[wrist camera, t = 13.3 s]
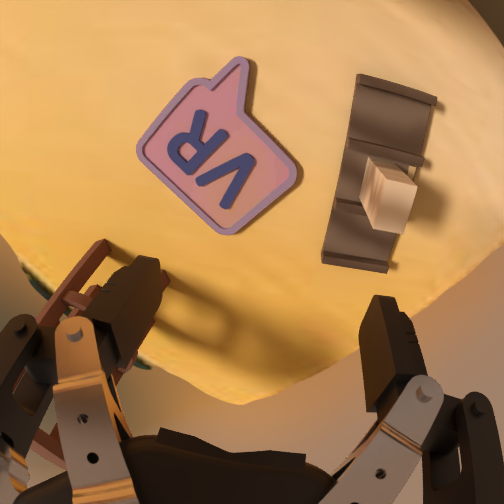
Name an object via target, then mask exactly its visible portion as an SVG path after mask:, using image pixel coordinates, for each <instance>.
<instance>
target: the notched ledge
mask: <svg viewBox="0 0 504 504" xmlns="http://www.w3.org/2000/svg"><path fill="white" fill-rule="evenodd" d="M436 102H437V97H436V96H433V95H430V94H427V93H425V92H422V91H419V90H416V89H413V88H410V87H407V86H403V85H400V84H397V83H394V82H390V81H387V80H383V79H379V78H376V77H372V76H368V75H364V74H357V77H356V83H355V90H354V96H353V103H352V109H351V115H350V121H349V126H348V132H347V137H346V143H345V148H344V153H343V158H342V163H341V168H340V173H339V178H338V183H337V188H336V192H335V197H334V201H333V206H332V210H331V215H330V219H329V223H328V227H327V232H326V236H325V240H324V244H323V248H322V252H321V260H322V263H323V264H329V265H336V266H342V267H348V268H354V269H361V270H367V271H373V272H379V273H385V274H387V271H388V269H389V265H388V262H387V260H388V257H389V255H390V252H391V249H392V246H393V244H394V241H395V238H396V235H397V233H393V232H388V231H383V230H377V229H373V228H372V225H371V223H370V220H369V218H368V216H367V214H366V211H365V209H364V207H363V205H362V202H361V200H360V198H359V196H360V192H361V187H362V183H363V179H364V174H365V169H366V165H367V160H368V157H371V158H376V159H380V160H384V161H389V162H393V163H395V164H396V165H397V166H398V167H399V168H400V169H401V170H402V171H403V172H404V173H405V174H406V175H407V176H408V177H409V178H410V179H411V180H412V181H413V180H414V177H415V173H416V169H417V166H420V167H422V165H423V161H424V158H423V157H422V156H420V154H421V150H422V145H423V141H424V137H425V132H426V128H427V123H428V118H429V113H430V108H431V105H434V106H436Z"/></svg>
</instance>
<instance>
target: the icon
mask: <svg viewBox="0 0 504 504" xmlns="http://www.w3.org/2000/svg"><path fill="white" fill-rule="evenodd" d="M249 72H250V64H249V61H248V60H247V59H246V58H244V57H240V56H238V57H235V58H233V59H232V60H231V61H230V62H229V63H228V64H227V65H226V66H224V67H223V68H222V69H221V70H220V71H219V72H218V73H217V74H216V75H215V76H214V77H213V78H212V79H211V80H209V79H207V78H194V79H191V80H189V81H188V82H187V83H186V84H185V85H184V86H183V87H182V88H181V89H180V91H179V92H178V93H177V94H176V95H175V96H174V97H173V99H172V100H171V101H170V102H169V103H168V104H167V106H166V107H165V108H164V109H163V110H162V112H161V113H160V114H159V115H158V117H157V118H156V119H155V120H154V122H153V123H152V124H151V125H150V127H149V128H148V129H147V130H146V132H145V133H144V134H143V136H142V137H141V138H140V140H139V141H138V143H137V146H136V153H137V156H138V158H139V160H140V161H141V162H142V163H143V164H144V165H145V166H146V167H147V168H148V169H149V170H150V171H151V172H152V173H153V174H154V175H156V176H157V177H158V178H159V179H160V180H161V181H162V182H163V183H164V184H165V185H166V186H167V187H168V188H169V189H170V190H171V191H173V192H174V193H175V194H176V195H177V196H178V197H179V198H180V199H181V200H182V201H183V202H184V203H185V204H186V205H188V206H189V207H190V208H191V209H192V210H193V211H194V212H195V213H196V214H197V215H198V216H199V217H200V218H201V219H203V220H204V221H205V222H206V223H207V224H208V225H209V226H210V227H211V228H212V229H213V230H214V231H216V232H217V233H219V234H222V235H232V234H234V233H236V232H237V231H238V230H239V229H241V228H242V227H243V226H244V225H245V224H246V223H248V222H249V221H250V220H251V219H252V218H254V217H255V216H256V215H257V214H258V213H260V212H261V211H262V210H263V209H264V208H266V207H267V206H268V205H269V204H270V203H272V202H273V201H274V200H275V199H276V198H278V197H279V196H280V195H281V194H283V193H284V192H285V191H286V190H287V189H289V188H290V187H291V186H292V185H293V184H294V182H295V180H296V177H297V168H296V164H295V162H294V161H293V160H292V159H291V158H290V157H289V156H288V155H287V154H286V153H285V152H284V151H283V149H282V148H281V147H280V146H279V145H278V144H277V143H276V142H275V141H274V140H273V139H272V138H271V137H270V136H269V135H268V134H267V133H266V132H265V131H264V130H263V129H262V128H261V127H260V126H259V125H258V124H257V123H256V122H255V121H254V120H253V119H252V118H251V117H250V116H249V115H248V114H247V113H246V112H245V103H246V95H247V87H248V80H249Z"/></svg>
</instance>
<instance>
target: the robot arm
mask: <svg viewBox="0 0 504 504" xmlns="http://www.w3.org/2000/svg"><path fill="white" fill-rule="evenodd" d="M162 293H163V291H162V281H161V270H160V262H159V259H157V258H152V257H147V256H141V255H139V256H137V258H136V259H135V260H134V261H133V263H132V264H131V265H130V266H124V267H122V268H121V269H119V270H117V271H116V272H114V273H113V275H112V276H111V277H110V278H109V280H108V281H107V283H105V285H104V286H103V287H102V288H101V290H100V291H99V292H98V294H97V295H96V296H95V297H94V299H93V300H92V301H91V303H90V304H89V305H88V307H87V308H86V309H85V311H84V312H83V313H82V315H81V316H75V317H70V318H68V319H65V320H64V321H62V322H61V323H60V324H59V325H58V327H42V326H38V324H37V322H36V319H35V318H34V317H33V316H31V315H28V314H21V315H18V316H16V317H14V318H12V319H11V320H10V321H9V322H8V323H7V325H6V326H5V327H4V329H3V330H2V331H1V333H0V504H392V503H393V502H394V500H395V499H396V497H397V496H398V494H399V493H400V491H401V490H402V488H403V487H404V485H405V484H406V482H407V480H408V479H409V477H410V476H411V474H412V472H413V471H414V469H415V467H416V465H417V464H418V462H419V460H420V458H421V456H422V468H423V504H504V462H503V456H502V450H501V445H500V440H499V434H498V430H497V425H496V421H495V416H494V413H493V408H492V405H491V403H490V401H489V400H488V398H487V397H486V396H485V395H483V394H481V393H479V392H470V393H469V394H467V395H466V396H465V398H463V399H458V398H455V397H452V396H449V395H446V394H444V393H443V390H442V388H441V386H440V384H439V383H438V382H437V381H436V380H435V379H433V378H431V377H429V376H428V374H427V371H426V367H425V363H424V359H423V356H422V353H421V349H420V346H419V344H418V339H417V336H416V335H415V329H414V326H413V323H412V321H411V320H410V319H409V317H408V316H407V315H406V314H405V312H399V309H398V305H397V302H396V299H395V298H394V297H390V296H382V295H374V296H373V298H372V300H371V302H370V305H369V307H368V309H367V312H366V314H365V316H364V318H363V321H362V323H361V326H360V329H359V346H360V354H361V362H362V371H363V379H364V389H365V400H366V411H367V412H377V416H378V419H377V420H376V421H375V422H374V424H373V425H372V427H371V428H370V429H369V431H368V432H367V433H366V434H365V436H364V437H363V438H362V440H361V441H360V442H359V443H358V445H357V446H356V447H355V448H354V450H353V451H352V452H351V453H350V454H349V456H348V457H347V458H346V459H345V460H344V461H343V462H342V463H341V464H340V465H339V467H337V468H336V469H335V470H334V472H333V473H332V474H331V475H329V474H327V473H326V472H325V471H323V470H322V469H320V468H318V467H316V466H314V465H312V464H309V463H306V462H305V460H306V454H301V453H290V452H280V451H272V450H268V451H256V452H241V453H231V452H227V451H224V450H222V449H220V448H218V447H216V446H214V445H211V444H209V443H207V442H205V441H203V440H201V439H199V438H197V437H195V436H191V435H187V434H183V433H179V432H175V431H172V430H168V429H165V428H160V430H159V433H158V435H144V436H137V437H133V436H132V433H131V431H130V429H129V426H128V424H127V422H126V419H125V416H124V413H123V410H122V407H121V404H120V400H119V397H118V393H117V390H116V386H115V382H114V379H113V375H112V372H113V370H114V368H115V366H117V367H120V368H123V369H126V368H127V366H128V364H129V362H130V360H131V358H132V357H133V355H134V353H135V351H136V349H137V347H138V345H139V343H140V341H141V339H142V337H143V336H144V334H145V332H146V330H147V328H148V326H149V324H150V322H151V321H152V319H153V317H154V315H155V313H156V311H157V310H158V308H159V306H160V303H161V300H162ZM24 368H25V369H26V372H25V374H24V376H23V377H22V379H21V381H20V383H19V385H18V386H17V388H16V390H15V391H14V393H12V391H13V386H14V384H15V383H16V381H17V379H18V377H19V376H20V374H21V372H22V371H23V369H24ZM53 397H54V404H55V412H56V418H57V424H58V430H59V435H60V441H61V445H62V450H63V455H64V459H65V463H66V467H67V471H65V472H63V473H61V474H59V475H57V476H55V477H53V478H50V479H48V480H46V481H44V482H42V483H40V484H37V485H35V486H33V487H30V488H28V489H27V484H26V483H27V482H28V481H29V480H30V474H29V472H28V466H27V463H26V460H25V458H26V455H27V453H28V451H29V448H30V446H31V444H32V441H33V439H34V437H35V434H36V432H37V430H38V428H39V426H40V423H41V421H42V419H43V417H44V415H45V413H46V410H47V409H48V407H49V405H50V403H51V401H52V398H53ZM458 447H460V454H461V464H462V470H461V474H460V464H459V455H458Z"/></svg>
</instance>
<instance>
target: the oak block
mask: <svg viewBox="0 0 504 504" xmlns="http://www.w3.org/2000/svg"><path fill="white" fill-rule="evenodd" d="M417 187H418V186H417V185H416V184H415V183H414V182H413V181H412V180H411V179H410V178H409V177H408V176H407V175H406V174H405V173H404V172H403V171H402V170H401V169H400V168H399V167H398V166H397V165H396V164H395V163H393V162H389V161H384V160H380V159H376V158H371V157H368V160H367V165H366V169H365V174H364V179H363V183H362V187H361V192H360V196H359V198H360V200H361V202H362V205H363V207H364V209H365V211H366V214H367V216H368V218H369V220H370V223H371V225H372V228H373V229H377V230H383V231H388V232H393V233H398V234H403V233H404V230H405V227H406V224H407V221H408V217H409V214H410V211H411V208H412V205H413V201H414V198H415V194H416V191H417Z"/></svg>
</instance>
